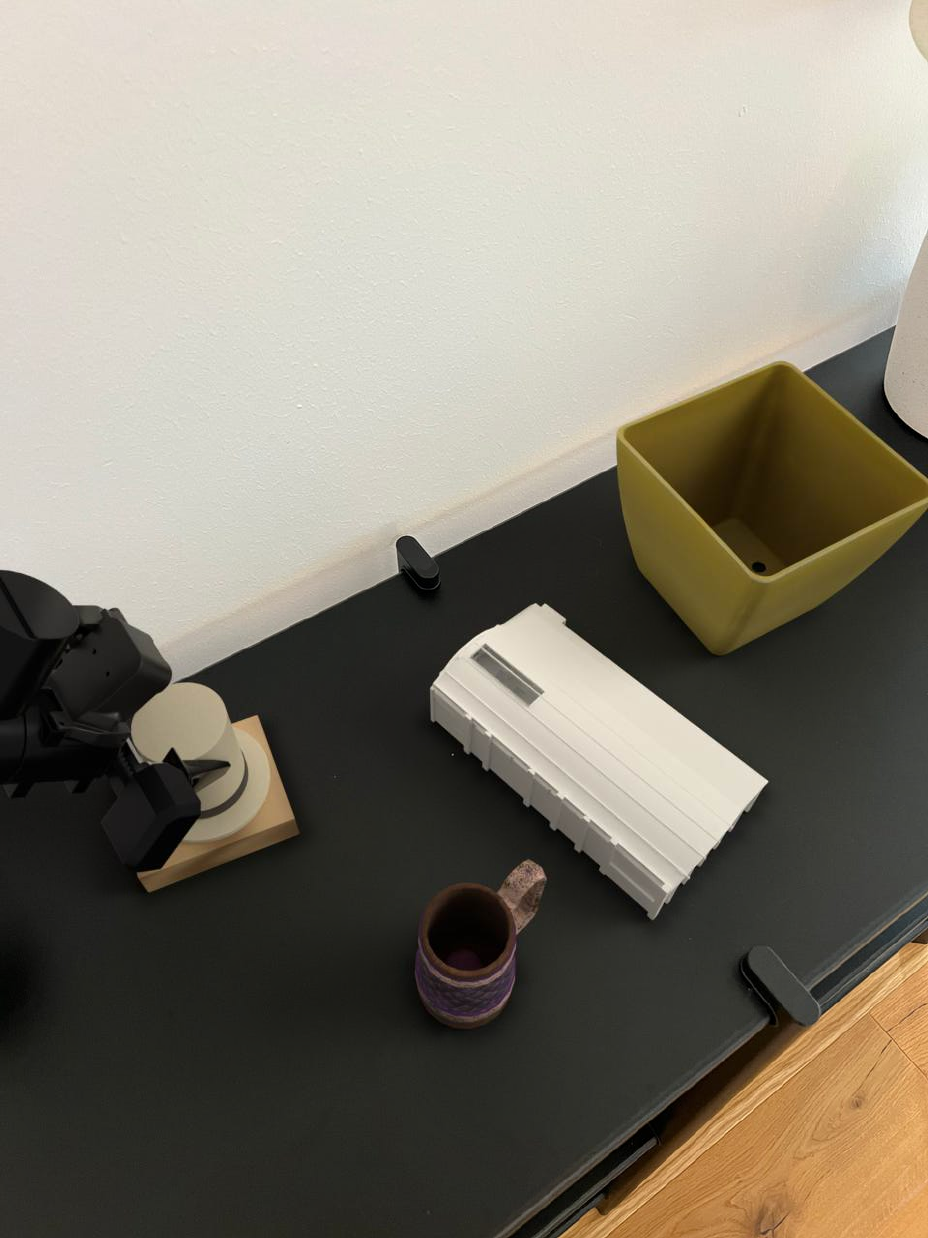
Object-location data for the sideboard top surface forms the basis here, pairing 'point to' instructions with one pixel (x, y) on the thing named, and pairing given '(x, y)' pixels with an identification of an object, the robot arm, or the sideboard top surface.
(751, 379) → the flower pot
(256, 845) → the wooden block
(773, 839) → the sideboard top surface
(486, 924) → the mug
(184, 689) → the hat
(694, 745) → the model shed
